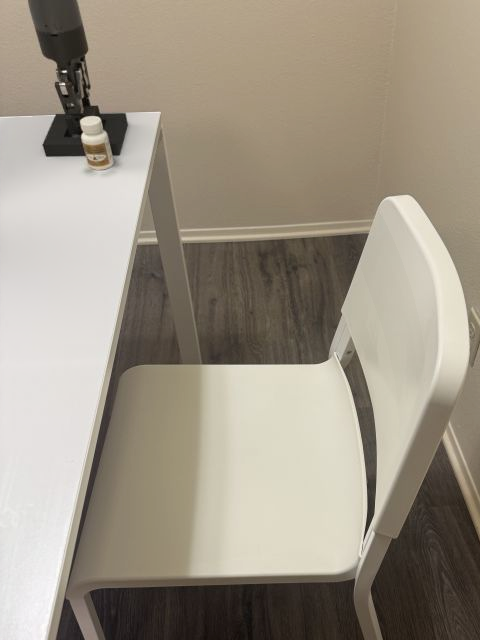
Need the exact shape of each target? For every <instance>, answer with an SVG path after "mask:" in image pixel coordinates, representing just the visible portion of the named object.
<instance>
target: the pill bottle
mask: <svg viewBox="0 0 480 640" xmlns="http://www.w3.org/2000/svg"><path fill="white" fill-rule="evenodd" d="M80 125H81V129H82V131H83V133H82V135H80V137H81V139H82V143H83V147H84V150H85V154H86V156H85V158H86V161H87V165H88V167H89V168H90V169H92V170H94V171H95V170H97V171H102V170H107V169H110V168H112V166H113V165H114V162H115V161H114V157H113V156H114V155H112V152H111V147H110V143H109V139H108V135H107V133H106V131H104V130H103V125H102V121H101V119H100V118H99V117H97V116H88V117H85V118H83V119H81V120H80Z"/></svg>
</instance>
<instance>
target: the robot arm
mask: <svg viewBox="0 0 480 640" xmlns="http://www.w3.org/2000/svg"><path fill="white" fill-rule="evenodd" d="M27 5H28V9H29V13H30V17H31V20H32V23H33V27H34V31H35V33H36V37H37V40H38V44H39V48H40V51H41V54H42V56H43V57H44V58H46V59H47V60H51V61H53V62H54V63H55V64H56V69H55V74H56V75H55V76H56V79H57V80H58V81H54V88H55V91H56V93H57V96H58V98H59V102H60V104H61V108H62V109H63V112H64V114H65V115H71V118H72V122H73V125H74V129H75V133H76V134H78V135H77V136H81V135H82V133H83V131H82V129H81V125H80V120H81V119H83V118H85V115H84V109H83V106H92V105H91V100H90V97H91V93H90V91H89V90H91V89H92V88H91V87H92V86H91V82H90V76H89V71H88V66H87V61H86V55H87V54H88V52H89V44H88V40H87V35H86V31H85V27H84V23H83V18H82V15H81V11H80V6H79V2H78V0H27Z"/></svg>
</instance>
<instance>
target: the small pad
mask: <svg viewBox="0 0 480 640" xmlns="http://www.w3.org/2000/svg"><path fill="white" fill-rule="evenodd" d="M83 109H84V115H85V117H88V116H97V117H99V118H100V119H101V116H100V113H101V112H100V108H99V105H91V106H83ZM65 120H66V124H67V127H68V131H69V134H70V135H72V136H79V135H78V134H76V133H75V129H74V125H73V122H72V118H71V115H66V117H65ZM101 121H102V120H101Z"/></svg>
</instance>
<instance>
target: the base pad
mask: <svg viewBox="0 0 480 640" xmlns="http://www.w3.org/2000/svg"><path fill="white" fill-rule="evenodd" d="M100 116H101V120H102V125H103V130H104V131H106V133H107V135H108V139H109V143H110V147H111V152H112V156H120V154H121V151H122V148H123V143H124V140H125V137H126V133H127V129H128V125H129V121H128V119H127V113H126V112H100ZM65 117H66V115H65V113H55V116H54V117H53V120H52V122H51V125H50V127H49V129H48V131H47V133H46V136H45V137H44V141H43V142H42V144H41V145H42V147H43V153H44V154H45V157H86V154H85V150H84V147H83V143H82V139H81V136H73V135H70V134H69V131H68V127H67V124H66V120H65Z"/></svg>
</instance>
